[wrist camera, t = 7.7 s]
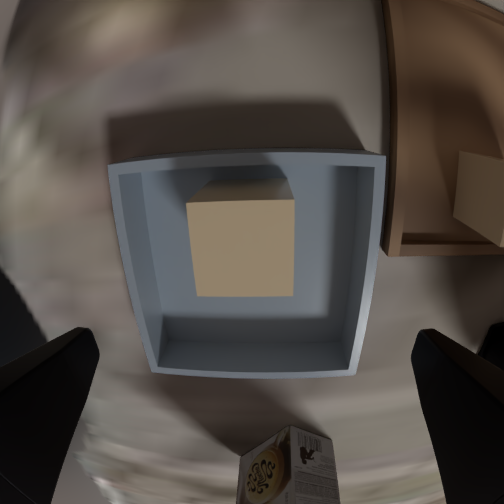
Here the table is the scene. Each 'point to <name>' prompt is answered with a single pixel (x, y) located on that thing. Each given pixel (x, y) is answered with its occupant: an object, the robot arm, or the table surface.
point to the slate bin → (253, 308)
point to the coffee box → (289, 470)
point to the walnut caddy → (439, 118)
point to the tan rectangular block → (243, 238)
